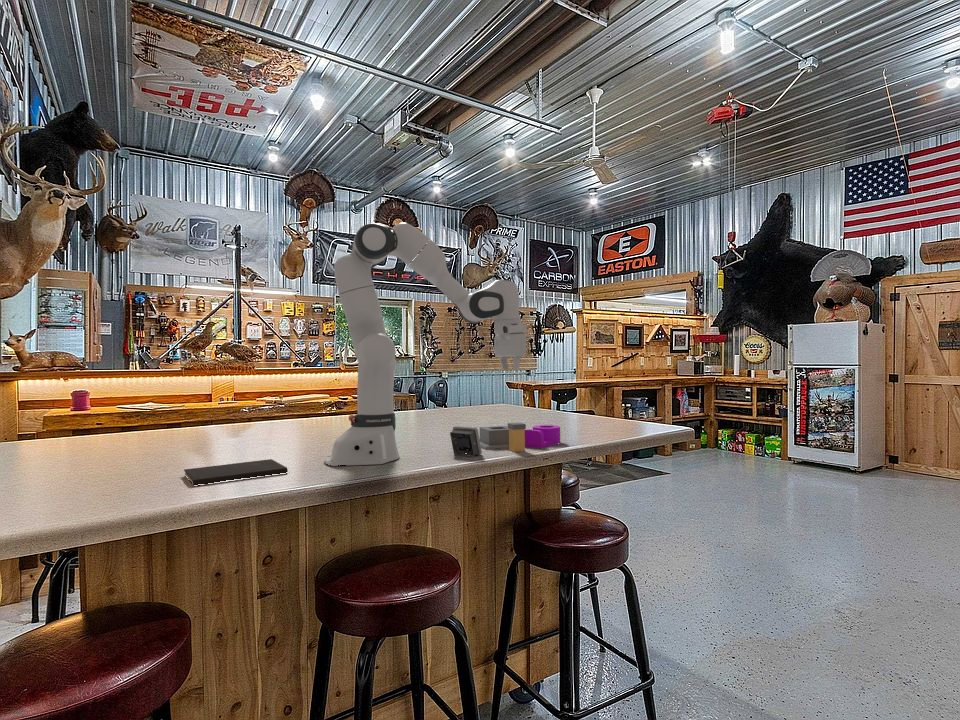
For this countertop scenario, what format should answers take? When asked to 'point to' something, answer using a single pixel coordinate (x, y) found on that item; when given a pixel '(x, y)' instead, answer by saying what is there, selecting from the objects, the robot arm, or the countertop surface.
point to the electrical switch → (465, 440)
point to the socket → (494, 437)
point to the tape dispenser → (542, 436)
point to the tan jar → (517, 436)
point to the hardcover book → (234, 471)
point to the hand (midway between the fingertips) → (510, 370)
